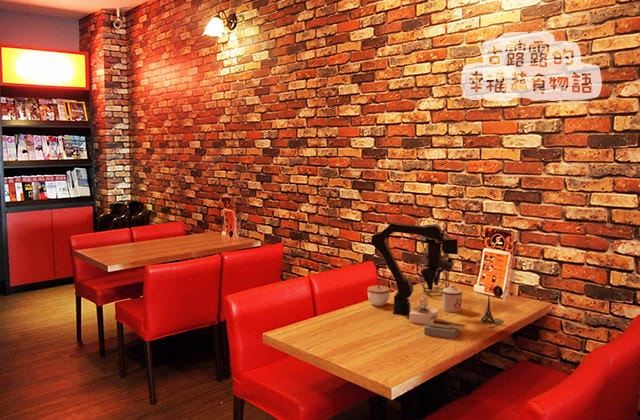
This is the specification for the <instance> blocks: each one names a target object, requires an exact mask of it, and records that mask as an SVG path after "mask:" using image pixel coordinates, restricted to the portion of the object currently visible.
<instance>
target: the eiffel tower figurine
mask: <svg viewBox="0 0 640 420" xmlns="http://www.w3.org/2000/svg"><path fill="white" fill-rule="evenodd" d="M487 298H488V299H487V306H486V311H485V313H484V314H483V316H482V317H481V319H480V321H481V322H482V323H483V324H484V325H487V324H489V325H490V324H493V326H488V329H494V328H496V327H498V326H500V325H502V324H503V323H505V321H504V320H503V319H500V318H495V317H494V316H493V315H492V310H491V302H490V301H491V299H490V298H491V297H490V294H488V296H487ZM494 325H495V326H494Z"/></svg>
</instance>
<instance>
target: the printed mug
mask: <svg viewBox="0 0 640 420" xmlns="http://www.w3.org/2000/svg"><path fill="white" fill-rule="evenodd" d="M442 292H443V296H442V306H441V307H442V310H443V311H445V312H449V313H459V312H460V311H462V301H463V300H462V299H463V291H462V290H461V289H460V288H458V287H456V286H455V284H449V287H448V288H446V287H445V288H444V289H443V291H441V293H442Z"/></svg>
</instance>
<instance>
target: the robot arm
mask: <svg viewBox="0 0 640 420" xmlns="http://www.w3.org/2000/svg"><path fill="white" fill-rule="evenodd" d="M442 231H443V229H442V227H441V226H440V225H439V224H434V223H433V224H423V225H420V224H418V225H417V224H408V223H397V222H390V224H389V225H388V226H387V227H385V228H384V229H382V231H378V232H376V233H375V234H374V235H372V237H371V243H372V245H373V246H374V248H375V249H376V250H377V251H378V252H379V253H380V254H381V256H382V258H383V259H384V261H385V263H386V265H387V267H388V269H389V272H390V273H391V275H392V277H393V279H394V281H395V283H396V289H397V292H396V293H395V294H394V296H393V311H392V314H394V315H401V316H407V315H408V314H409V313H410V312H411V302H410V299H409V298H410V297H412V294H413V293H414V283H412V280H411V277H408V278H407V277H405V276H404V274H403V272H402V270H401V268H400V266H399V264H398V262H397V260H396V258H395V257H394V254H393V253H392V251H391V249H390V245H389V241H388V237H389V236H391V235H392V234H393V233H400V234H401V233H402V234H407V235H410V234H411V235H422V236H424V237H426V240H425V239H424V240H422V242H423V243H424V244H428V246H427V250H428V251H427V254H428V255H427V256H426V257H425V259H426V258H427V264H426V268H425V267H424V269H423V268H422V273H421V276H422V275H423V280H424V279H425V281H426V282H425V284H426V286H427V287H428V288H429V290H428V291H433V289H432V288H433V287H434V285H435V286H437V284H438V285H439V283H438V281H439V277H440V278H441V274H442V273H443V270H444V271H445V270H446V272H447V273H448V272H449V273H451V271H452V270H453V267H454V265H455V264H454V263H455V262H453V258H450V257H449V259H447V258H446V259H445V258H444V259H443V256H442V255H443V254H441V249H442V253H443V252H444V253H445V254H446V255H447V254H448V255H459V239H458V238H452V239H447V238H446V236H445V235H443V233H442ZM429 238H431V239H429ZM436 240H437V241H436ZM441 246H442V248H441Z"/></svg>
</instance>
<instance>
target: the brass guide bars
mask: <svg viewBox="0 0 640 420" xmlns="http://www.w3.org/2000/svg"><path fill="white" fill-rule="evenodd" d="M436 323H442V324H449V325H450V326H449V325H442V324H436ZM429 326H434V327H441V328H447V329H450V328H453V329H460V330H461V331H464V328H465V327H466V324H465V323H464V324H463V323H458V322H454V321H448V320H442V319H441V320H440V319H437V315H432V316H431V317H430V318H429Z"/></svg>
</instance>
